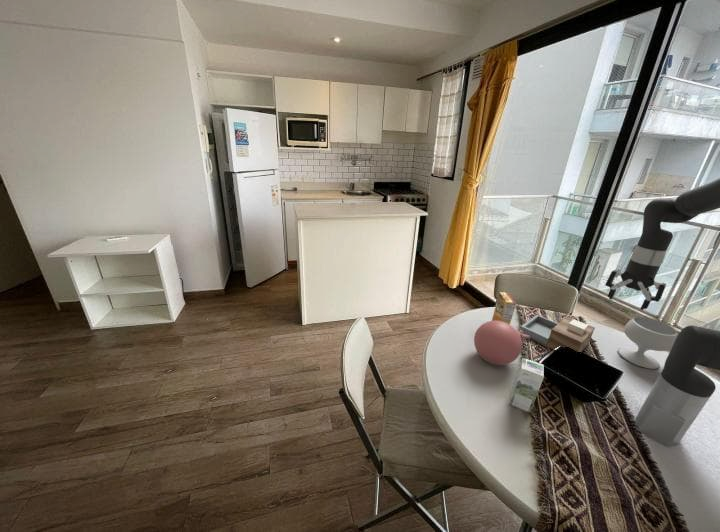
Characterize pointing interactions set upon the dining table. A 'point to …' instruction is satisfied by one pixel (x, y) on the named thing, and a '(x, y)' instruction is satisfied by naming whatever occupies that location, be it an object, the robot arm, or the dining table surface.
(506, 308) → the candy box
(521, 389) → the syrup box
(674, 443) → the robot arm
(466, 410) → the dining table surface
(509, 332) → the pink egg-shaped ball
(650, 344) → the chalice
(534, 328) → the box
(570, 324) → the tile
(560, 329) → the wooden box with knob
